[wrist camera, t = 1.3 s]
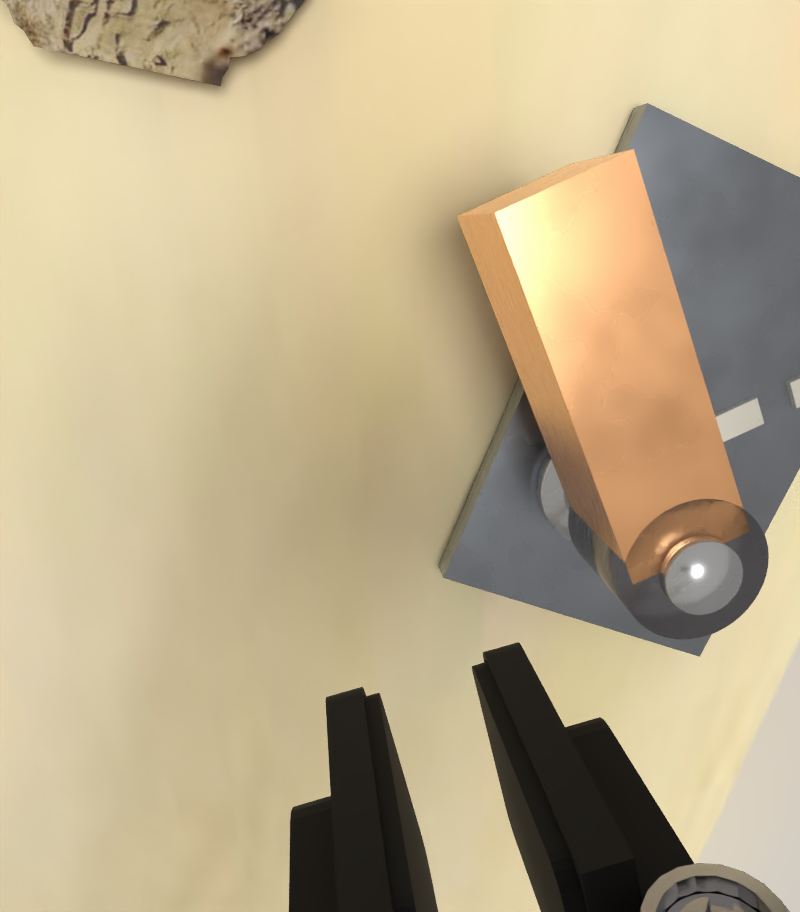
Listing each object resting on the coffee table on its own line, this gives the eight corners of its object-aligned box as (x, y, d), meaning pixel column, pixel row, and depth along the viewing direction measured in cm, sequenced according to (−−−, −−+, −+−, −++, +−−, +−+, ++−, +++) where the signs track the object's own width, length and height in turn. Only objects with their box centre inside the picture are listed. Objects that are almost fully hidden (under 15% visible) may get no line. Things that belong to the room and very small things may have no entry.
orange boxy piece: (705, 540, 29) (795, 610, 24) (592, 592, 29) (657, 673, 24) (580, 159, 25) (658, 139, 19) (445, 221, 25) (485, 219, 19)
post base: (694, 645, 36) (746, 700, 32) (438, 565, 33) (459, 615, 29) (907, 240, 32) (1001, 242, 28) (633, 108, 29) (692, 87, 25)
